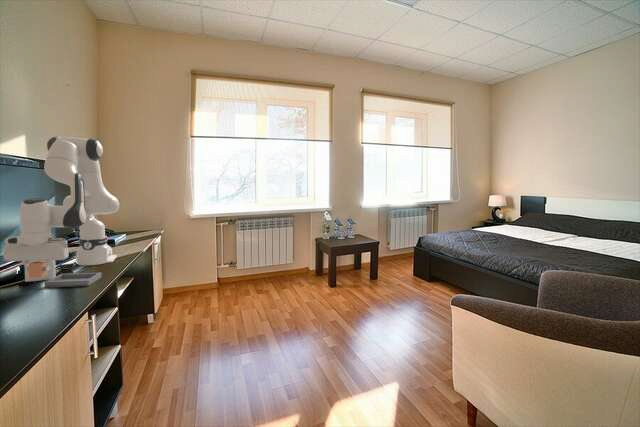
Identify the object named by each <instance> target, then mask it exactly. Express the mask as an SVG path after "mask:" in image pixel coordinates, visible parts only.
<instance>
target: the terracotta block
mask: <svg viewBox="0 0 640 427" xmlns="http://www.w3.org/2000/svg"><path fill="white" fill-rule="evenodd" d="M46 264H47V263H45V261H34V262H31V263H29V264H28V268H29V278H41V277H43V276H45V275H47V271H43V267H44V266H46Z"/></svg>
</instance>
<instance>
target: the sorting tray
mask: <svg viewBox="0 0 640 427" xmlns="http://www.w3.org/2000/svg"><path fill="white" fill-rule="evenodd" d="M101 278H102V272H81V273H79V272H78V273H60V274H59V275H56V277H54V278H52V279H50V280H45V281H44V288H45V289H47V288H48V289H49V288H51V289H52V288H69V287H70V288H72V287H73V288H74V287H89V286H91V285H92V284H95V283H96V282H97V281H99V280H100V279H101Z"/></svg>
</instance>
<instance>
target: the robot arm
mask: <svg viewBox="0 0 640 427" xmlns="http://www.w3.org/2000/svg"><path fill="white" fill-rule="evenodd" d="M46 147H47V148H46V149H47V155H46V157H45V161H44V165H43V166H44V167H43V168H44V172H45V174H46V175H47V176H48V177H49V178H50V179H52V180H54V181H56V182H58V183H61V184H64V185H67V186H69V187H70V195H67V196H65V198H64V199H63V202H62V205H54V204H50V203H49V202H48V200H47V199H45V198H42V197H41V198H40V197H39V198H38V197H35V198H27V199H25V200H22V201H21V203H20V210H19V223H20V224H21V228H20V234H17V235H14V236H11V237H8V238H5V239H4V243H5V245H4V246H3V252H2V253H3V254H2V255H3V260H4V261H5V262H21V263H22V265H23V266H24V268H25V267H26V271H29V268H28V264H29V262H30V261H45V263H47V264H46V266H44V267H43V271H48V270H49V269H50V267H49V266H50V265H51V263H52V262H53V260H55V261H64V260H67V259H68V258H69V257H70V256H69V249H68V240H66V239H65V238H64V237H57V238H56V237H52V228H68V229H78V228H79V239H78V240H79V241H78V244H79V247H78V248H76V256H75V261H77V263H78V266H97V265H98V266H99V265H101V264H102V265H103V264H109V263H113V262H114V261H115V260H116V258H118V255H117V254H113V248H112V246H110V245H108V240H109V237H108V236H106V225H105V224H104V223H103V221H100V220H99V219H96V218H95V216H94V215H110V214H115V213H117V211H118V210H119V208H120V202H119V200H118V198H117V197H116V196H114V195H112V194H111V193H110V192H109V191H108V190H107V189H106V187H105V185H104V184H103V180H102V171H101V165H100V162H99V160H100V159H101V158H102V156H103V153H104V148H103V145H102V143H101V142H100V141H98V140H97V139H93V138H85V137H79V136H77V137H76V136H74V137H72V136H68V137H66V136H64V137H63V136H54V137H51V138H49V140H47V143H46ZM85 191H86V192H88V193H87V194H85V193H86V192H85Z"/></svg>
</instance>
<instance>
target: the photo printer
mask: <svg viewBox="0 0 640 427" xmlns="http://www.w3.org/2000/svg"><path fill="white" fill-rule="evenodd" d="M31 262H34V261H30V262H29V263H31ZM49 267H50V269H49V270H48V271H47V275H45V276H43V277H41V278H29V271H26V267H25V266H24V282H26V283H27V282H28V283H29V282H36V281H37V282H38V281H48V280H50V279H52V278H54V277H56V276H57V275H56V260H53V262H52V263H51V265H50V266H49Z"/></svg>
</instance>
